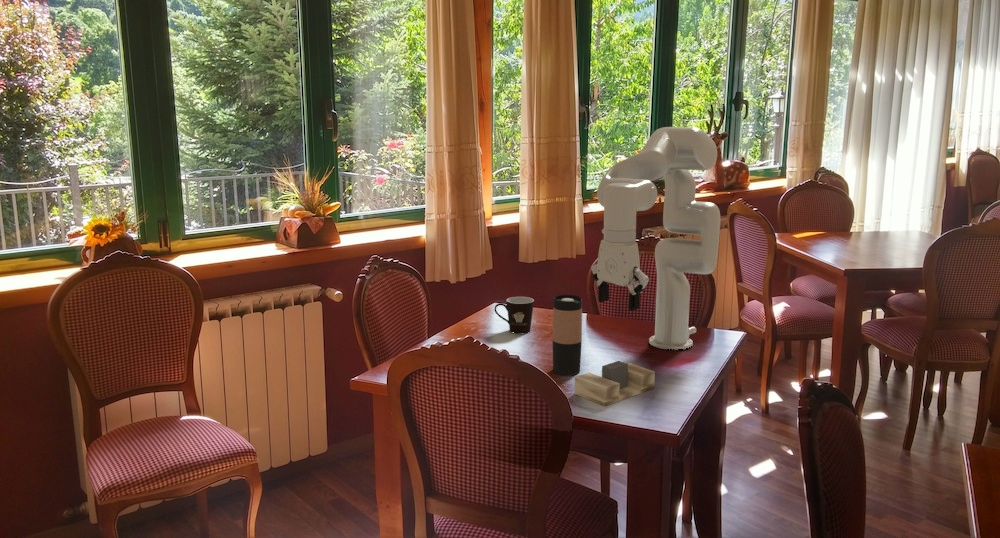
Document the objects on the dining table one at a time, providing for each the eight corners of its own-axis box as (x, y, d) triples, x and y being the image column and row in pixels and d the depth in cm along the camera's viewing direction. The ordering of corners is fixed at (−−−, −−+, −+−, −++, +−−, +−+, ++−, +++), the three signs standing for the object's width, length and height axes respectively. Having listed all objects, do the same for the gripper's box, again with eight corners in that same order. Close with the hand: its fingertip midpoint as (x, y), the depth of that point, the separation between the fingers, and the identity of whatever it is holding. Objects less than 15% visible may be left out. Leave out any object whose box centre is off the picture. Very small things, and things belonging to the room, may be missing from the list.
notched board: (623, 377, 196) (624, 361, 195) (654, 388, 188) (654, 371, 188) (574, 393, 185) (574, 376, 184) (604, 406, 177) (605, 388, 176)
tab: (617, 383, 189) (618, 360, 188) (627, 386, 187) (627, 363, 186) (601, 389, 186) (602, 366, 184) (610, 392, 183) (611, 369, 182)
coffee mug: (538, 329, 238) (539, 299, 236) (524, 336, 231) (524, 305, 229) (507, 324, 244) (507, 294, 242) (492, 330, 237) (492, 300, 235)
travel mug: (551, 366, 205) (552, 294, 201) (579, 366, 205) (581, 294, 200) (552, 375, 197) (553, 301, 193) (581, 376, 197) (583, 301, 193)
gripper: (582, 233, 183) (581, 301, 187) (637, 243, 170) (635, 316, 174) (603, 228, 187) (602, 295, 192) (659, 238, 174) (656, 309, 179)
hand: (618, 305), depth 183 cm, fingers open, 9 cm apart
